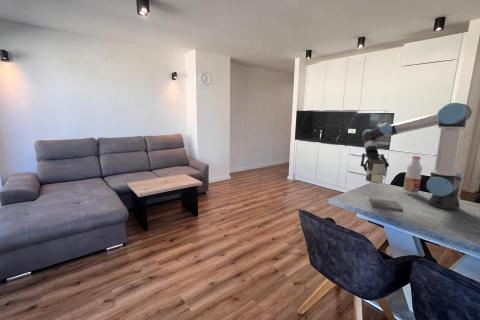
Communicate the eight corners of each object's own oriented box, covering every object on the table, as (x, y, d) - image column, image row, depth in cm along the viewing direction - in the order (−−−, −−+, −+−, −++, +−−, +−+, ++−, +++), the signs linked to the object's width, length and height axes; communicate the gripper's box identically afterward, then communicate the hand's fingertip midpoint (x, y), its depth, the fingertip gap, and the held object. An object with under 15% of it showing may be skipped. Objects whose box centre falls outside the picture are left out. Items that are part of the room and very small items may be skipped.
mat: (396, 203, 154) (396, 201, 154) (402, 211, 141) (403, 209, 141) (369, 200, 159) (369, 197, 159) (373, 207, 146) (373, 205, 146)
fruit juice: (404, 190, 182) (409, 155, 176) (418, 193, 175) (425, 156, 170) (401, 192, 175) (407, 156, 170) (416, 196, 169) (423, 158, 163)
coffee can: (362, 180, 159) (365, 160, 157) (369, 178, 166) (371, 158, 163) (379, 184, 152) (381, 163, 149) (385, 181, 158) (388, 161, 155)
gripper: (386, 152, 168) (392, 178, 156) (352, 150, 172) (356, 176, 160) (390, 145, 162) (397, 173, 150) (355, 144, 166) (360, 171, 154)
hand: (376, 175), depth 155 cm, fingers closed on coffee can, 10 cm apart
